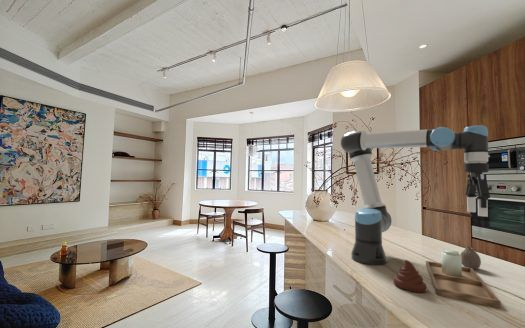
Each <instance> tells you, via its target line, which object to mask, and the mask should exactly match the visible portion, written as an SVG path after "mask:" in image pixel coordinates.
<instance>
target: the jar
mask: <svg viewBox="0 0 525 328" xmlns="http://www.w3.org/2000/svg"><path fill="white" fill-rule="evenodd" d="M440 254H441V257H440V258H441V261H440V263H442V273H443V274H445V275H449V276H455V277H462V267H463V265H462V258H461V253H459V251H457V250H455V249H454V250H453V249H448V248H447V249H443V251H441V252H440Z"/></svg>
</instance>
